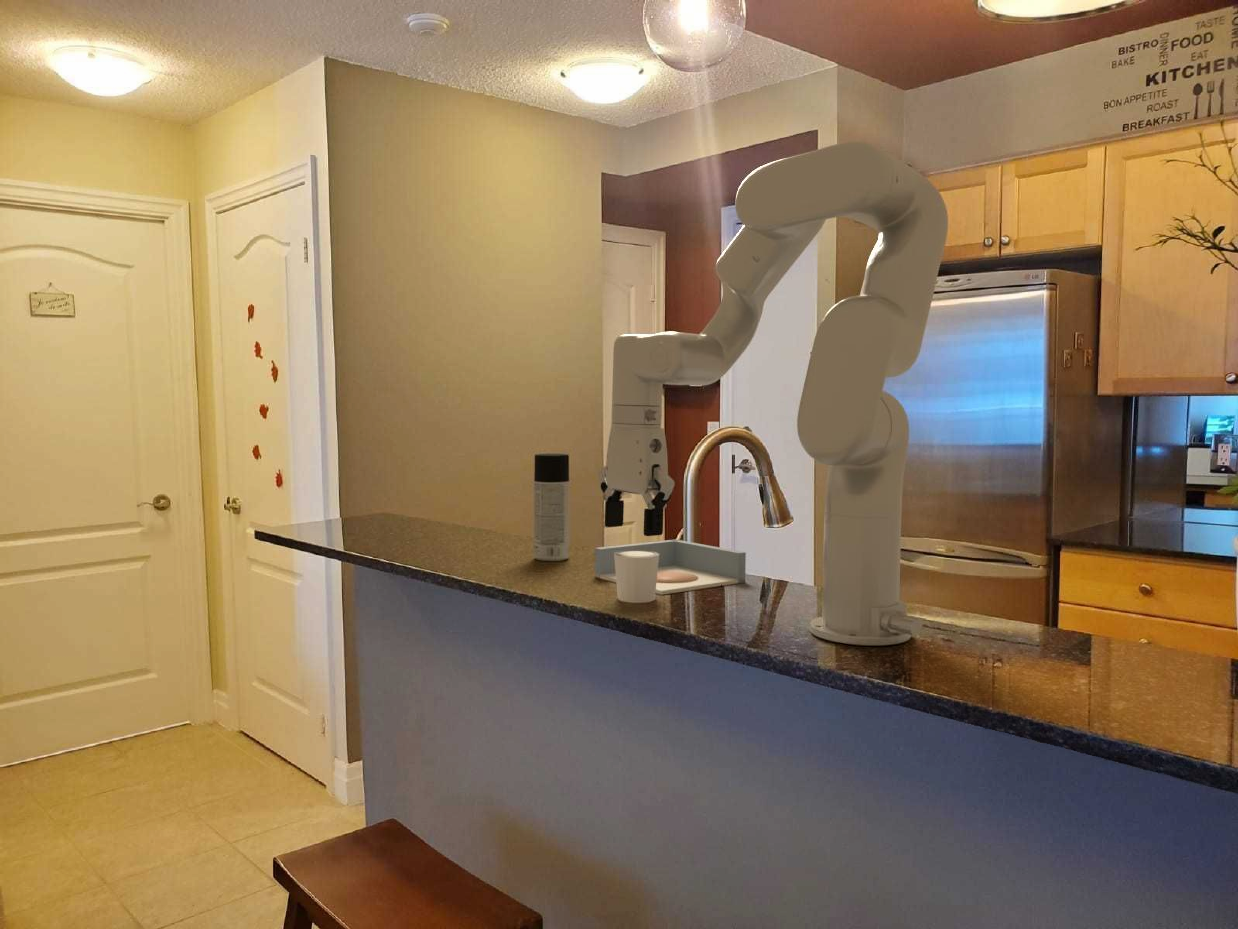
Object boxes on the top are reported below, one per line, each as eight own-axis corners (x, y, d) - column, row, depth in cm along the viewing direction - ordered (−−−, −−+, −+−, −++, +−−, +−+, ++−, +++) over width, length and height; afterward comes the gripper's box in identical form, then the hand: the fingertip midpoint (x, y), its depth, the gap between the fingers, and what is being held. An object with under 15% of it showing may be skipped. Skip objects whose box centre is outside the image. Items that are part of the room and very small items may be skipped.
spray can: (576, 558, 176) (576, 454, 175) (555, 563, 170) (555, 455, 169) (548, 555, 179) (548, 453, 178) (526, 559, 174) (526, 454, 172)
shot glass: (660, 594, 142) (660, 550, 142) (657, 604, 135) (657, 557, 135) (615, 593, 143) (616, 549, 142) (611, 603, 136) (611, 556, 135)
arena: (745, 582, 153) (745, 552, 152) (661, 594, 142) (661, 562, 142) (675, 566, 167) (675, 539, 167) (594, 577, 156) (594, 548, 156)
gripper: (693, 420, 133) (689, 537, 134) (621, 415, 147) (618, 521, 148) (653, 420, 128) (649, 541, 130) (583, 415, 142) (580, 524, 143)
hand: (632, 530), depth 139 cm, fingers open, 9 cm apart
